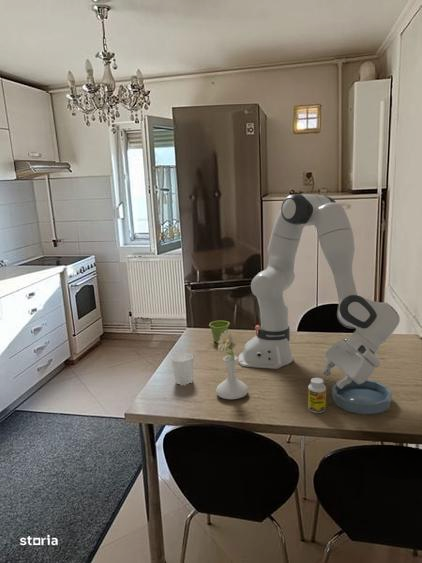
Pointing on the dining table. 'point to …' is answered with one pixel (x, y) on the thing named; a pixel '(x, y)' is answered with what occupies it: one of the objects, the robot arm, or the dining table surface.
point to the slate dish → (362, 397)
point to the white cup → (183, 368)
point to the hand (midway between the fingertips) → (331, 380)
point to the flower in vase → (230, 372)
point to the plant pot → (218, 329)
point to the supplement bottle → (317, 395)
